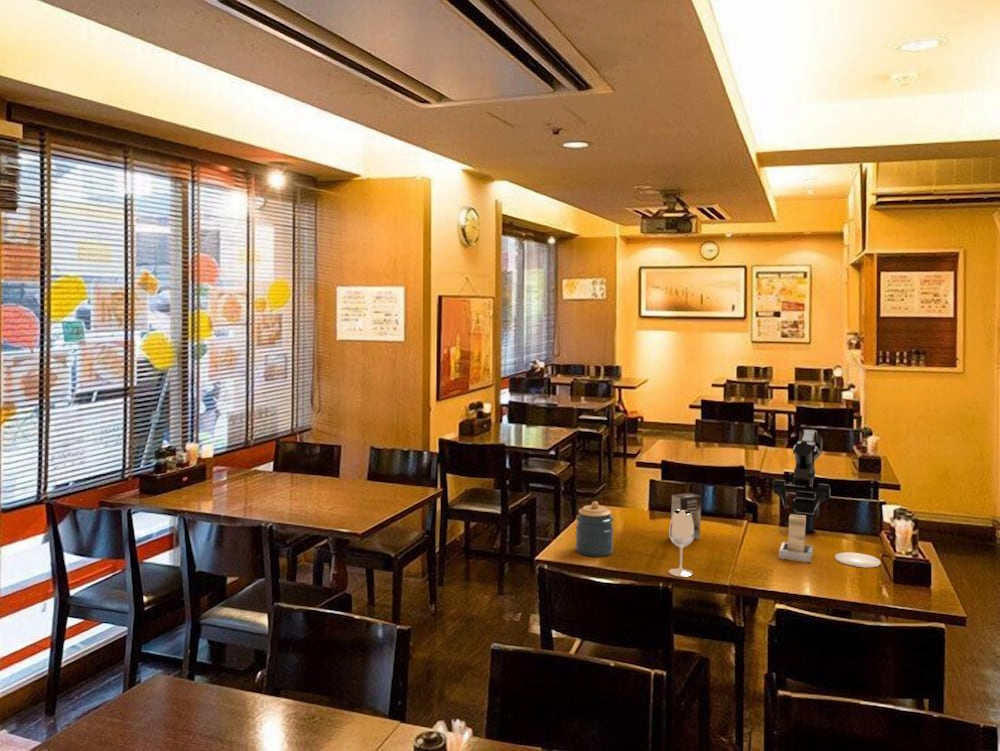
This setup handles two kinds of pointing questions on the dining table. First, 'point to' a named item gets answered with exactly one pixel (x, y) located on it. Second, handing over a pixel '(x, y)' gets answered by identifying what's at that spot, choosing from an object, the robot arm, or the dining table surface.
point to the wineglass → (681, 537)
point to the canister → (594, 530)
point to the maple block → (796, 533)
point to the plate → (857, 560)
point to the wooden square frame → (795, 553)
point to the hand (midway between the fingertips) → (799, 509)
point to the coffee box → (689, 508)
